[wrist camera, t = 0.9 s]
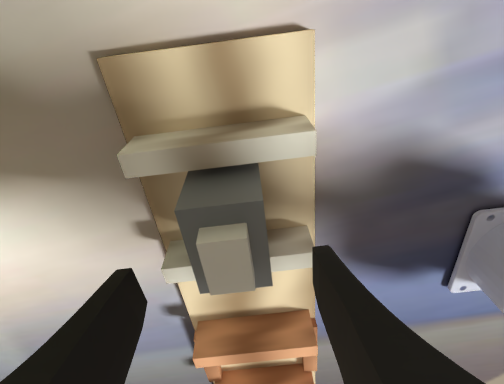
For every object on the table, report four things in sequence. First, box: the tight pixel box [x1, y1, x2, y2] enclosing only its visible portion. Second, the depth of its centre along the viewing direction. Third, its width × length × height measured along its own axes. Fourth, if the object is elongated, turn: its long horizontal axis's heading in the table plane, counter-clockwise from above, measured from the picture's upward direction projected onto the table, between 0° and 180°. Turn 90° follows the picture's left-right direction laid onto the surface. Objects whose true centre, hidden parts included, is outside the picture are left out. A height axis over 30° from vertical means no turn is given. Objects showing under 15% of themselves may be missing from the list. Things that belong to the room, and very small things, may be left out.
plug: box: [174, 163, 273, 295], centre depth 14 cm, size 4×5×6 cm
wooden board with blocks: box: [97, 29, 318, 384], centre depth 20 cm, size 10×32×4 cm, turn 7°
